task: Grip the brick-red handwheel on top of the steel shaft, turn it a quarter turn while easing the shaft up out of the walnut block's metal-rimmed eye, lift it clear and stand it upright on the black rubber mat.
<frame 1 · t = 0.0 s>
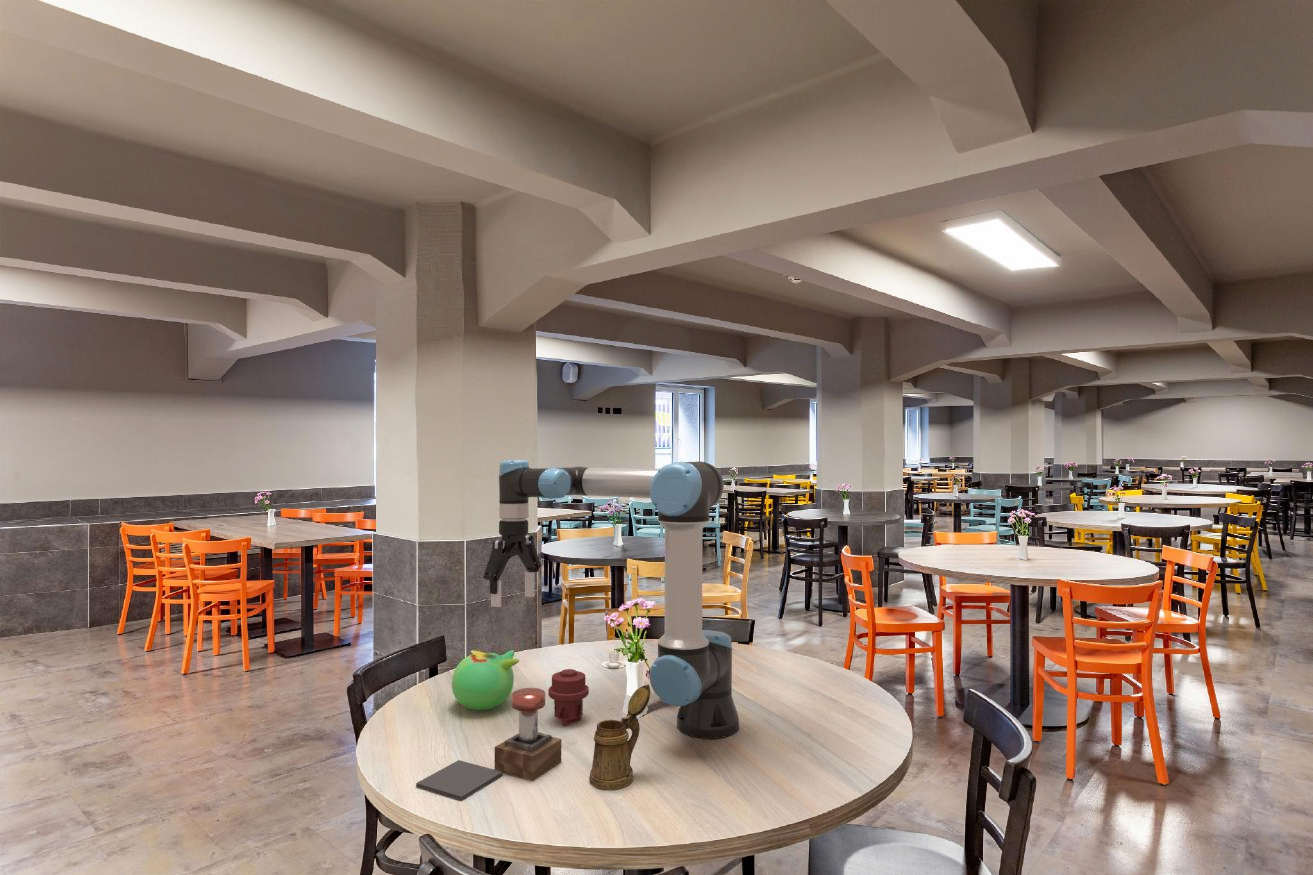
hand: (513, 601, 187), 28 cm above the table, tool pointing down, fingers open, 13 cm apart
eye block: (528, 766, 153), on the table
rubber mat: (460, 781, 146), on the table
white ring with peg: (605, 667, 224), on the table
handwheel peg: (528, 729, 153), in the eye block
mechanical component: (568, 721, 179), on the table
wooden mug: (621, 778, 148), on the table
toy bird: (485, 707, 189), on the table
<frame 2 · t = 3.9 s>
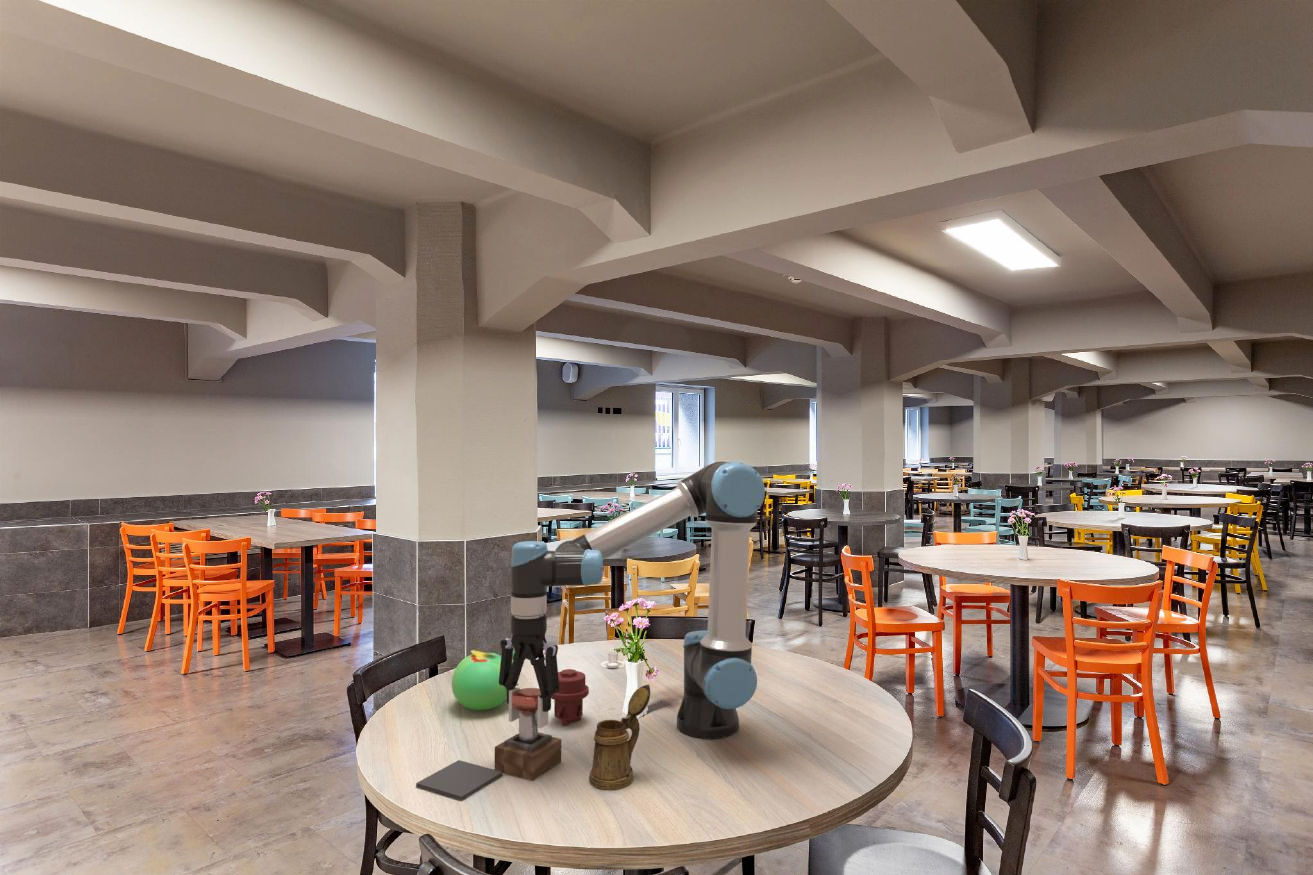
hand: (528, 722, 153), 9 cm above the table, tool pointing down, fingers closed on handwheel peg, 7 cm apart
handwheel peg: (528, 729, 153), in the eye block, touching gripper
everything else where it was.
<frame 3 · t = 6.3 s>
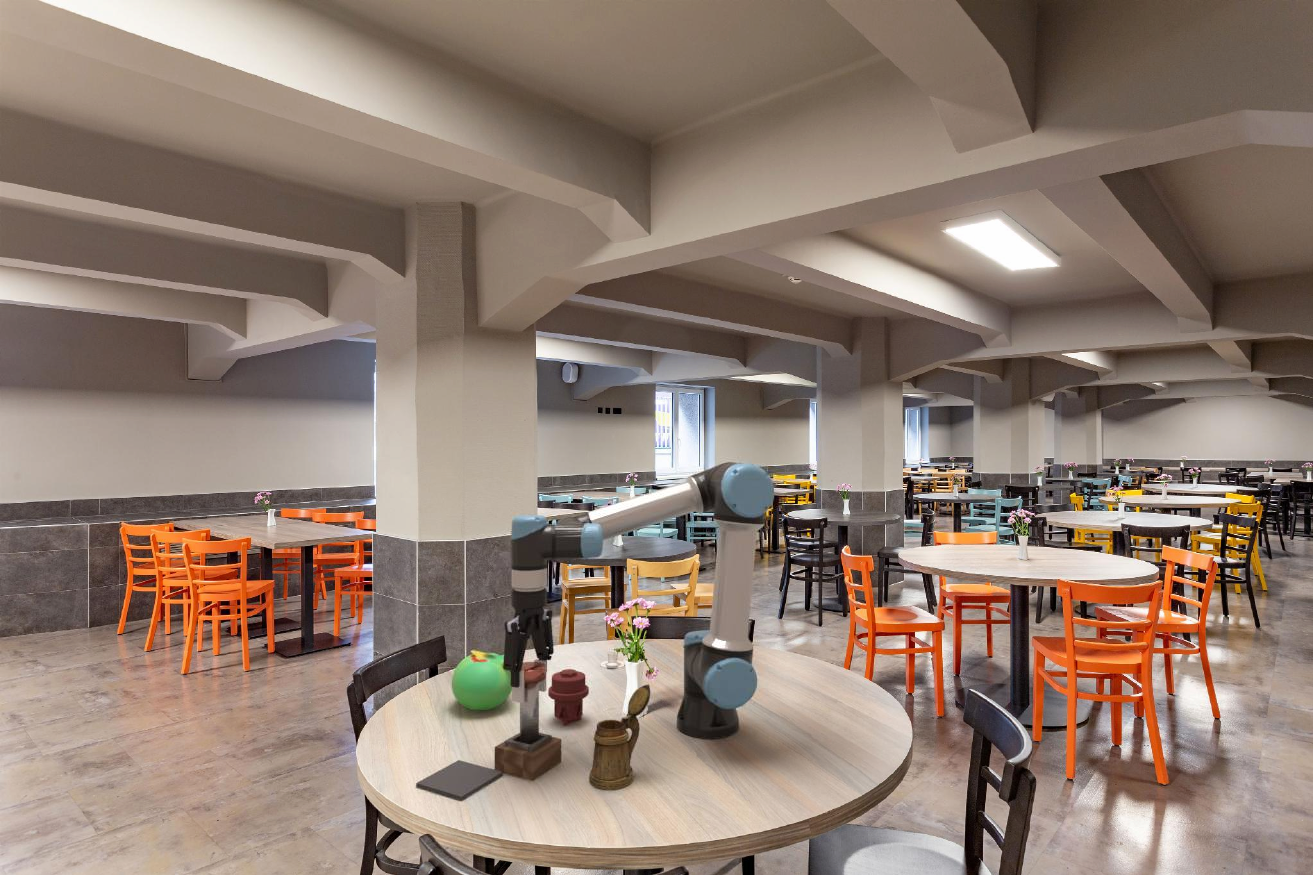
hand: (529, 695, 154), 15 cm above the table, tool pointing down, fingers closed on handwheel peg, 7 cm apart
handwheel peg: (529, 703, 154), point 13 cm above the table, touching gripper
everything else where it was.
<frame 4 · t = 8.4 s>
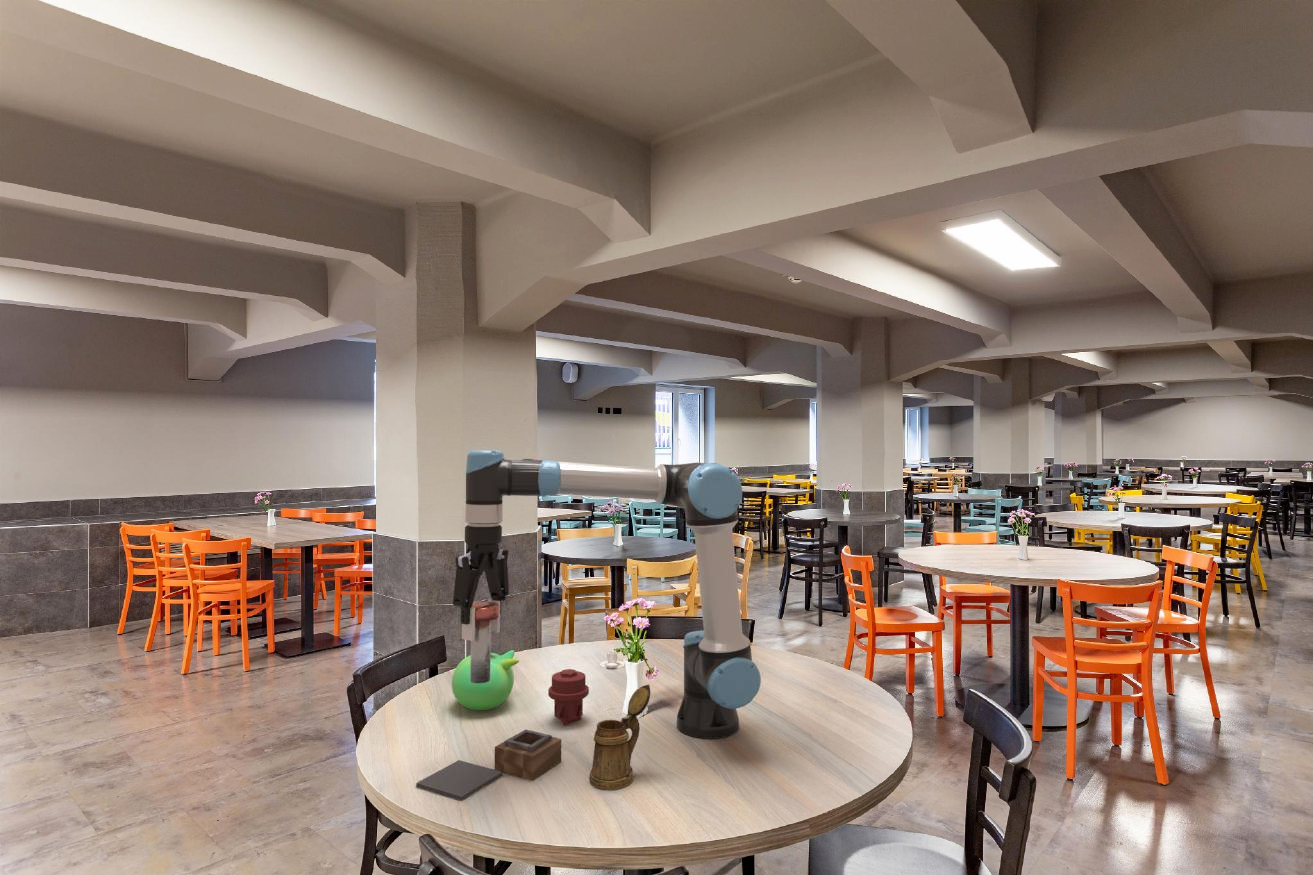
hand: (481, 635, 149), 29 cm above the table, tool pointing down, fingers closed on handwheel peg, 7 cm apart
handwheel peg: (481, 642, 149), point 28 cm above the table, touching gripper
everything else where it was.
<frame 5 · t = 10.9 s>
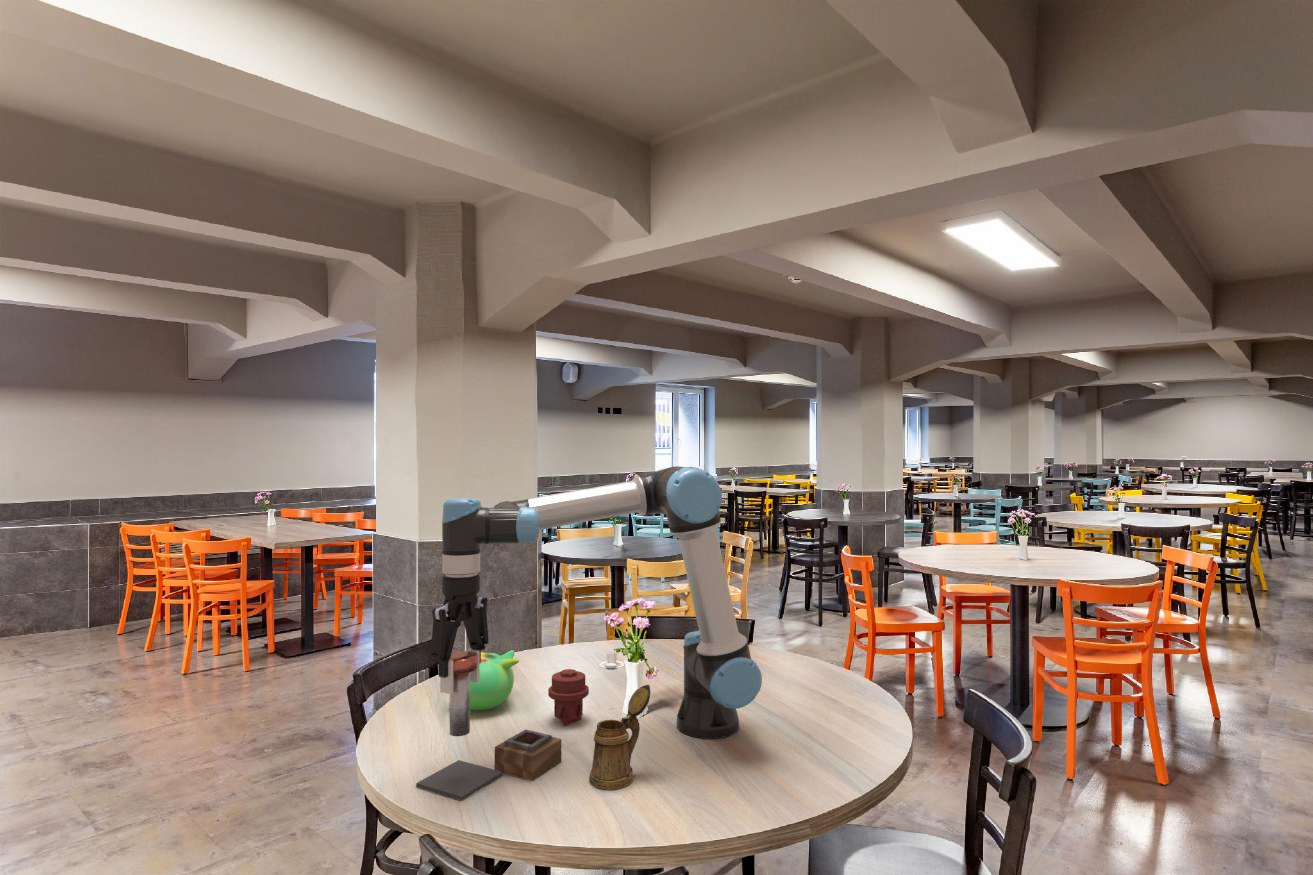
hand: (460, 686, 147), 19 cm above the table, tool pointing down, fingers closed on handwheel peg, 7 cm apart
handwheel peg: (460, 694, 147), point 18 cm above the table, touching gripper
everything else where it was.
when the fingers open (11 cm above the table, at t = 13.2 s): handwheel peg drops 1 cm, resting on rubber mat.
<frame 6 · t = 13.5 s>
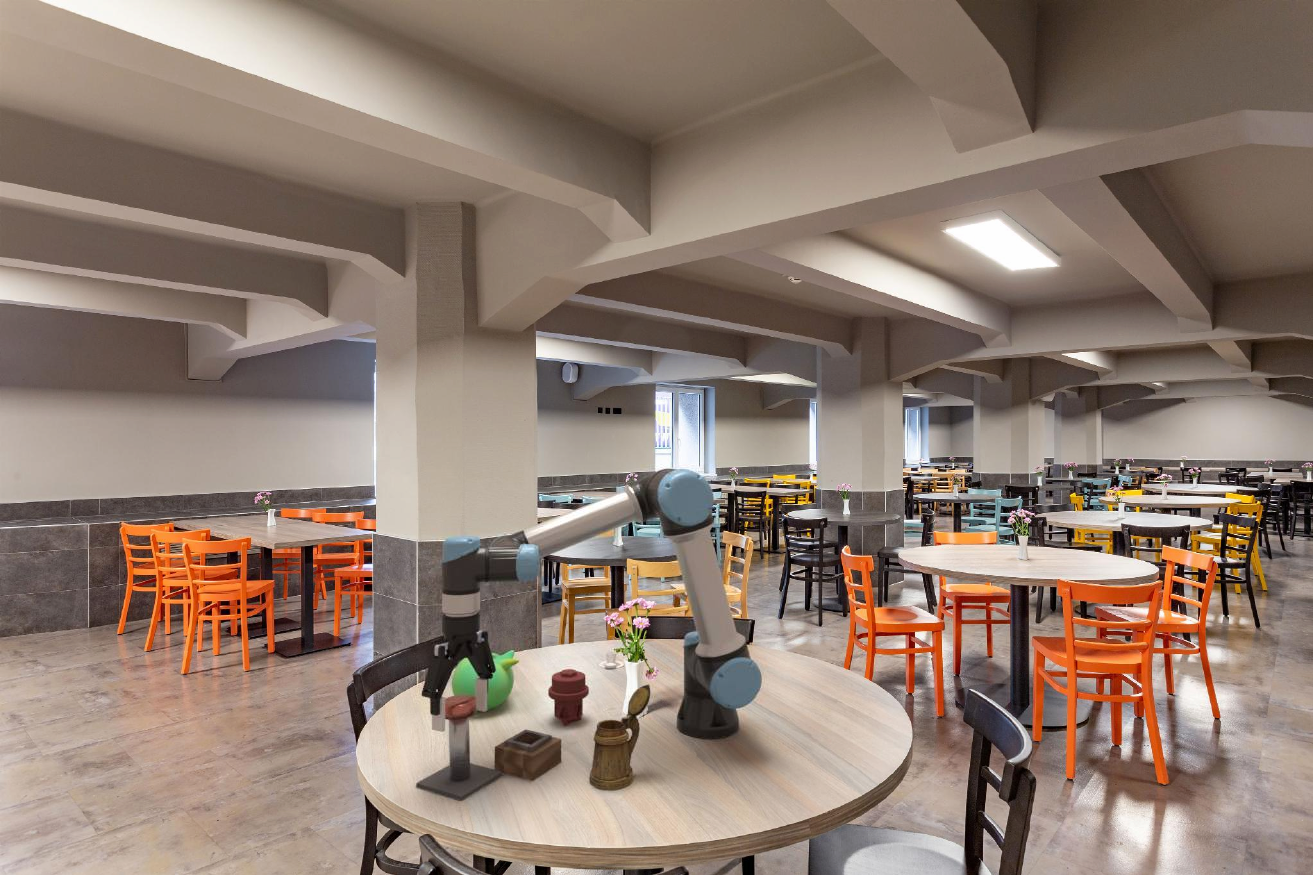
hand: (460, 719, 147), 12 cm above the table, tool pointing down, fingers open, 11 cm apart
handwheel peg: (459, 738, 147), on the rubber mat, point 9 cm above the table
everything else where it was.
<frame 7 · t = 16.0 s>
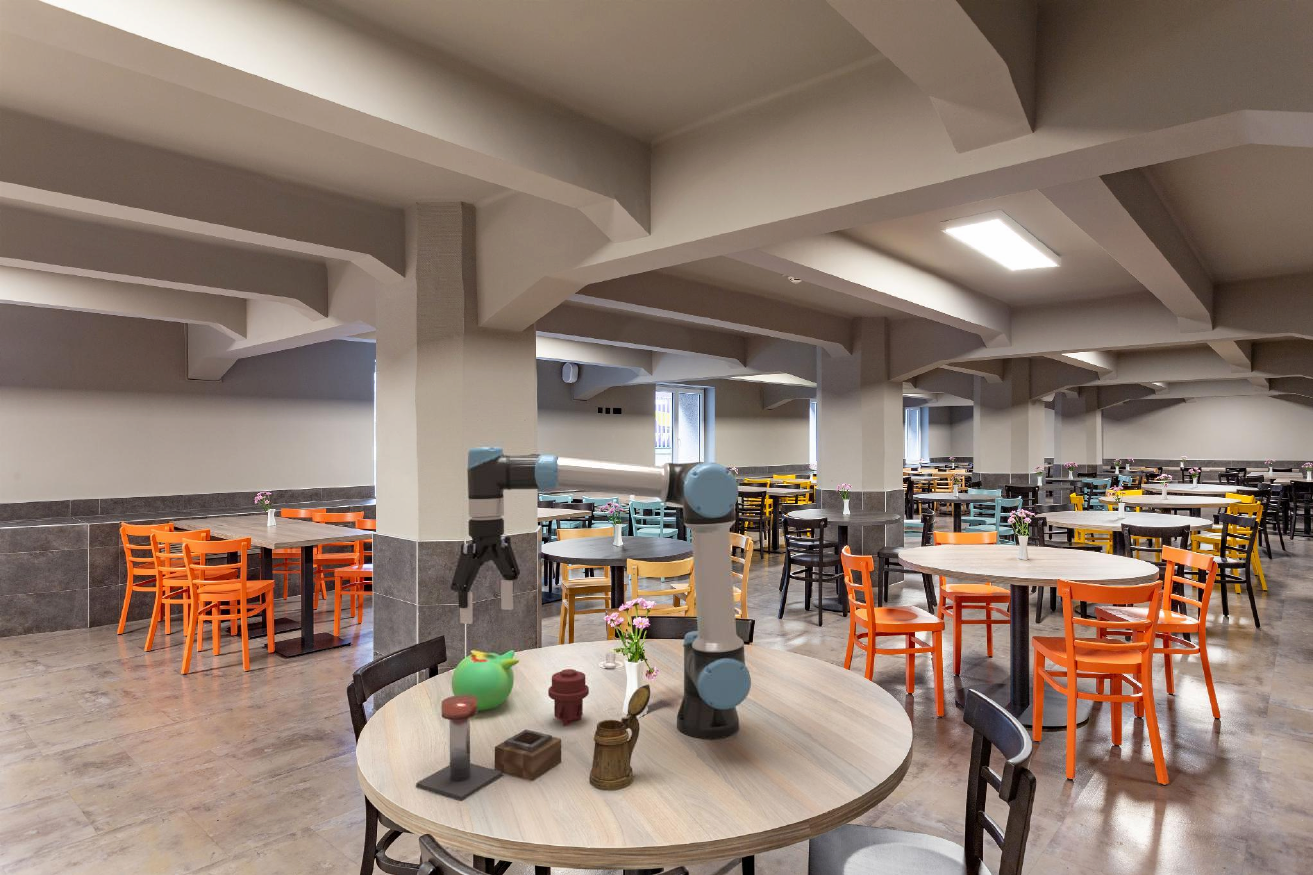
hand: (487, 616, 156), 31 cm above the table, tool pointing down, fingers open, 13 cm apart
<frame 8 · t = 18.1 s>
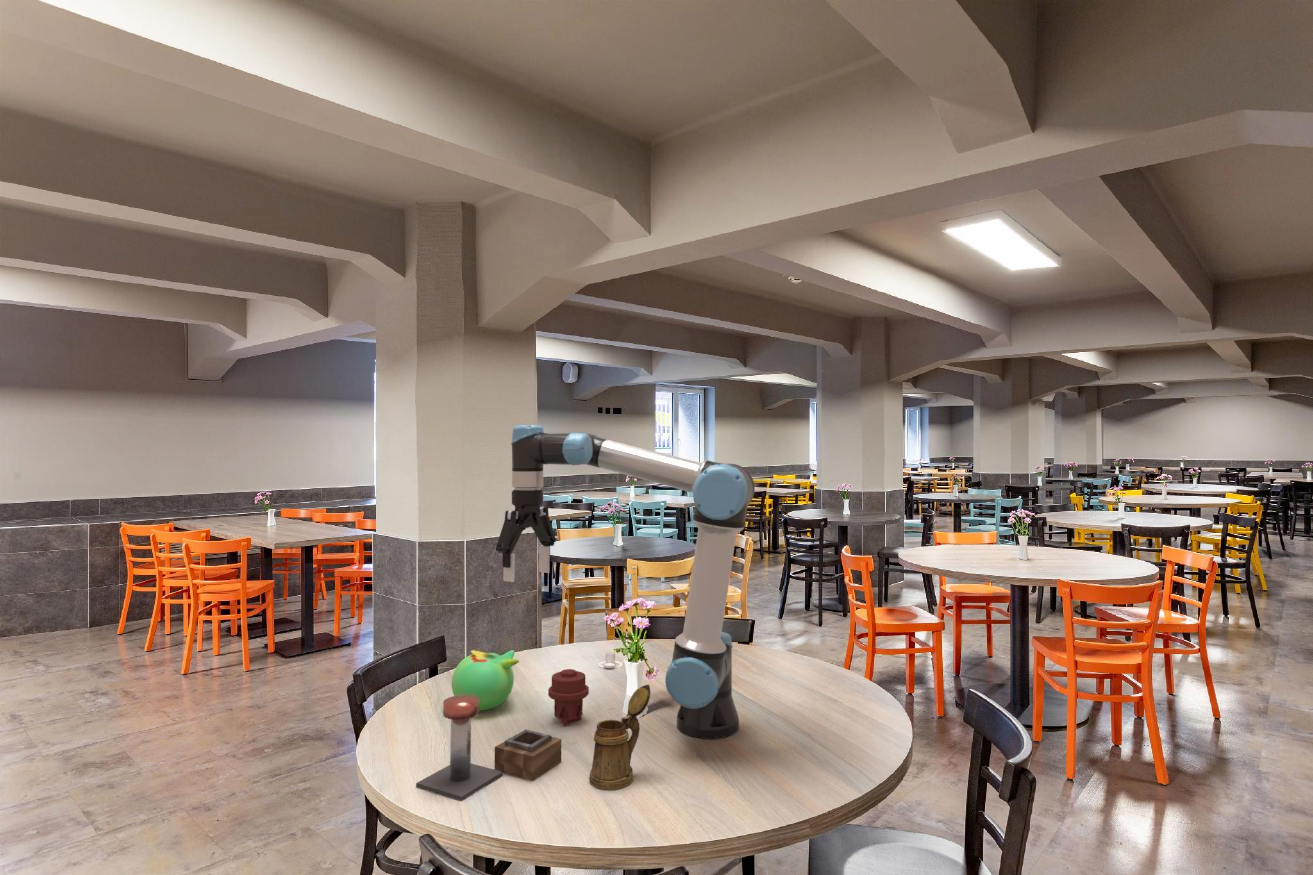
hand: (527, 576, 174), 37 cm above the table, tool pointing down, fingers open, 13 cm apart
at the end: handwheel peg inside the target area on the rubber mat (0.0 cm from its centre), point 8.6 cm above the rubber mat's base; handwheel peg tilted 1°; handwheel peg touching rubber mat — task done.
